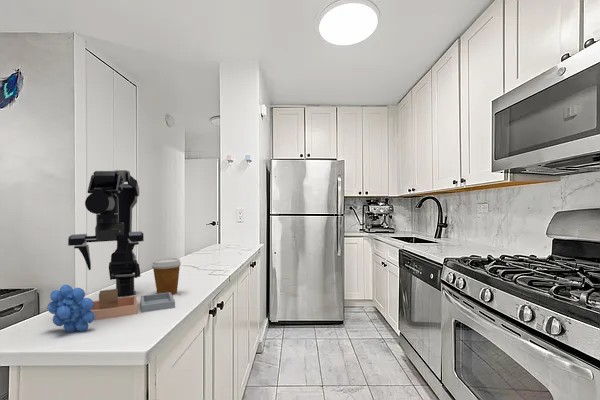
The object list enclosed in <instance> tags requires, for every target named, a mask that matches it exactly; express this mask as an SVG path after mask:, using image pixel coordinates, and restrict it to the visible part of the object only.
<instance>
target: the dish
mask: <svg viewBox="0 0 600 400" xmlns="http://www.w3.org/2000/svg"><path fill="white" fill-rule="evenodd" d="M92 301H93V300H92ZM93 303H94V306H93V308H92V309H91V310H90V311H92V312H93V313H94V315H95V319H94V321H99V320H105V319H106V320H107V319H112V318H119V317H125V316H132V315H138V300H137V295H131V296H123V297H118V307H115V308H108V309H101V310H99V300H94V301H93Z"/></svg>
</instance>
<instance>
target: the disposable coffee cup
mask: <svg viewBox="0 0 600 400" xmlns="http://www.w3.org/2000/svg"><path fill="white" fill-rule="evenodd" d="M181 264H182V261H181V260H180V258H177V257H176V258H175V257H174V258H171V257H170V258H169V257H167V258H162V259H161V258H159V259H155V260H153V261H152V264H151V268H152V269H153V277H154V281H155V288H156V289H155V290H156V294H160V293H168V292H171V294H172V296H173V295H177V294H178V286H179V285H178V284H179V277H180V267H181Z"/></svg>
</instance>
